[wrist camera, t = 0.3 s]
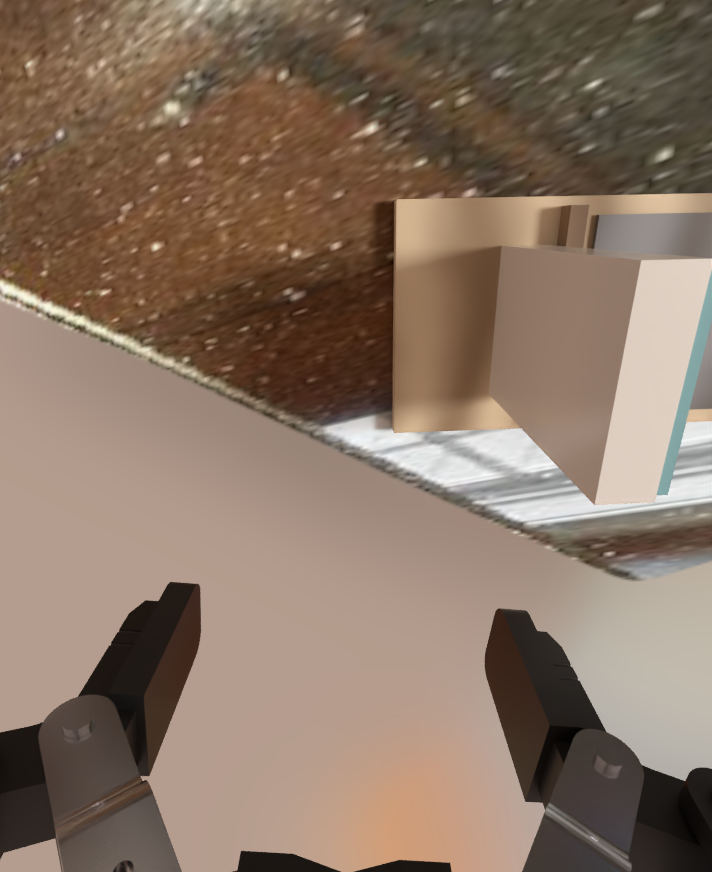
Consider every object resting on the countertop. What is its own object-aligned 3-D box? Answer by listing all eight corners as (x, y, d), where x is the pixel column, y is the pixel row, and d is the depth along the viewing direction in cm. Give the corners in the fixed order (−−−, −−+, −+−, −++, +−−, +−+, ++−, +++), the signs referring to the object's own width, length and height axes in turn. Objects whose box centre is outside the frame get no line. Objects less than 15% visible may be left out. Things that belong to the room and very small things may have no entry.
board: (392, 427, 34) (396, 439, 32) (394, 200, 28) (399, 198, 26) (706, 415, 35) (729, 427, 33) (766, 192, 29) (798, 190, 27)
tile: (488, 394, 32) (594, 504, 19) (501, 245, 29) (641, 260, 16) (534, 392, 32) (669, 501, 19) (552, 244, 29) (732, 258, 16)
